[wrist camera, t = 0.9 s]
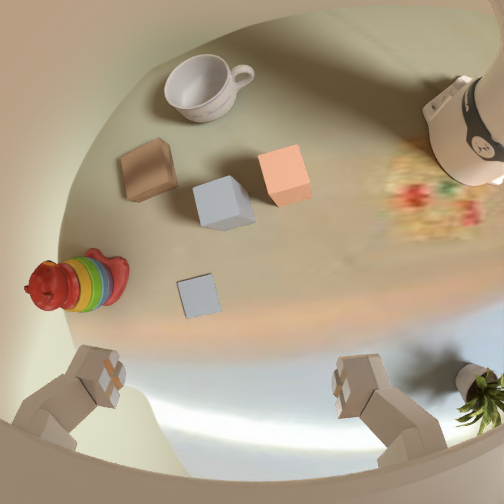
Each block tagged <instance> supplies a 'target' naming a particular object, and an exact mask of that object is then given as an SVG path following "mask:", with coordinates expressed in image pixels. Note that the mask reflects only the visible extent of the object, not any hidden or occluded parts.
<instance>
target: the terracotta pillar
mask: <svg viewBox="0 0 504 504" xmlns="http://www.w3.org/2000/svg"><path fill="white" fill-rule="evenodd" d="M258 159H259V162H260V166H261V169H262V173H263V176H264V180H265V183H266V187H267V190H268V194H269V196H270V197H271V198H272V199H273V201H274V202H275V203H276V205H277V206H278V207H280V206H284V205H287V204H291V203H295V202H298V201H302V200H305V199H309V198H311V191H310V181H309V177H308V174H307V171H306V168H305V165H304V161H303V158H302V155H301V152H300V149H299V146H298V144H297V145H293V146H290V147H286V148H282V149H279V150H275V151H272V152H269V153H265V154H262V155H259V156H258Z"/></svg>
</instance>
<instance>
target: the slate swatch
mask: <svg viewBox="0 0 504 504" xmlns="http://www.w3.org/2000/svg"><path fill="white" fill-rule="evenodd" d="M178 287H179V291H180V295H181V299H182V302H183V306H184V310H185V314H186V317H187V318H193V317H198V316H203V315H207V314H212V313H217V312H221V311H222V310H221V307H220V303H219V299H218V295H217V292H216V288H215V284H214V280H213V276H212V274H210V275H206V276H202V277H198V278H194V279H190V280H186V281H182V282H178Z"/></svg>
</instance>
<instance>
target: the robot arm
mask: <svg viewBox="0 0 504 504" xmlns="http://www.w3.org/2000/svg"><path fill="white" fill-rule="evenodd" d="M489 2H490V3H491V5H492V8H493V10H494V12H495V15H496V17H497V21H498V25H499V29H500V49H499V52H498V55H497V57H496V59H495V60H494V62H493V64H492V65H491V67H490V68H489V69H488V71H487V72H486V73H485V75H484V76H483V77H482V76H476V77H474V78H473V79H472V78H469V77H467V76H462V77H459V78H458V79H457V80H456V81H455V82H454V83H453V84H451V85H450V86H449V87H448V88H446V89H445V90H444V91H443V92H441V93H440V94H439V95H438V96H436V97H435V98H434V99H433V100H431V101H430V102H429V103H428V104H426V105H425V106H424V107H423V109H422V111H423V115H424V117H425V119H426V121H427V123H428V127H429V137H430V143H431V146H432V149H433V152H434V154H435V156H436V158H437V160H438V162H439V163H440V165H441V166H442V167H443V169H444V170H445V171H446V172H447V173H448V174H449V175H450V176H451V177H453V178H454V179H455V180H457V181H459V182H460V183H463V184H465V185H469V186H478V185H482V184H486V183H488V184H491V185H496V186H498V185H500V184H501V183H502V182H503V178H504V0H489ZM432 107H433V108H434V109H435V110H434V109H432ZM118 359H119V355H118V353H117V351H115V350H109V349H103V348H98V347H92V346H87V345H82V346H80V347H79V349H78V351H77V352H76V354H75V356H74V358H73V360H72V362H71V364H70V366H69V368H68V370H67V372H66V374H65V375H64V374H61V375H60V376H59V377H57V378H56V379H54V380H53V381H51V382H50V383H48V384H47V385H45V386H44V387H42V388H41V389H39V390H38V391H36V392H35V393H33V394H32V395H30V396H29V397H28V398H26V399H25V400H23V402H22V404H21V406H20V408H19V410H18V412H17V414H16V416H15V418H14V420H13V422H12V424H10V423H8V422H6V421H4V420H2V419H0V504H504V423H503V424H501V425H499V426H497V427H495V428H493V429H491V430H489V431H487V432H485V433H483V434H480V435H478V436H476V437H474V438H471V439H469V440H467V441H464V442H462V443H459V444H457V445H454V446H452V447H449V448H448V447H447V444H446V441H445V439H444V436H443V433H442V430H441V428H440V425H439V422H438V420H437V419H436V418H434V417H433V416H432V415H431V414H429V413H428V412H427V411H425V410H424V409H423V408H422V407H420V406H419V405H418V404H416V403H415V402H414V401H413V400H411V399H410V398H409V397H408V396H406V395H405V394H404V393H402V392H401V391H400V390H399V389H397V388H396V387H392V386H391V383H390V381H389V378H388V375H387V373H386V370H385V367H384V365H383V362H382V360H381V357H380V355H379V354H369V355H356V356H346V357H339V358H338V360H337V363H336V364H337V369H336V370H335V371H334V373H333V376H332V390H333V395H334V396H336V397H337V398H338V399H337V401H336V404H335V406H336V410H337V415H338V419H341V418H351V417H360V419H361V420H362V421H363V422H364V423H365V424H366V425H367V426H368V427H369V429H370V430H371V431H372V432H373V433H374V434H375V435H376V436H377V437H378V438H379V439H380V440H381V441H382V443H383V444H384V445H385V446H386V447H387V449H386V450H385V451H384V452H383V453H382V454H381V456H380V457H379V458H378V459H377V461H378V466H379V468H377V469H373V470H368V471H362V472H357V473H351V474H345V475H339V476H331V477H323V478H314V479H303V480H288V481H226V480H211V479H200V478H191V477H190V478H189V477H183V476H175V475H169V474H163V473H157V472H151V471H146V470H141V469H137V468H132V467H128V466H124V465H119V464H116V463H112V462H108V461H104V460H101V459H97V458H94V457H90V456H88V455H84V454H81V453H79V452H76V451H75V449H76V446H77V442H76V440H75V439H74V438H73V437H72V436H71V435H70V434H69V433H70V432H71V431H72V430H73V429H74V428H75V427H76V426H77V425H78V424H79V423H80V422H81V421H82V420H83V419H85V418H86V417H87V416H88V415H89V414H90V413H91V412H92V411H93V410H94V409H95V408H96V407H97V405H98V406H103V407H108V408H114V409H115V408H116V406H117V403H118V400H119V397H120V394H119V392H118V390H119V389H120V388H122V387H123V385H124V382H125V376H126V373H125V368H124V366H123V364H122V363H121V362H120V361H118Z"/></svg>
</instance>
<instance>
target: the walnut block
mask: <svg viewBox="0 0 504 504" xmlns="http://www.w3.org/2000/svg"><path fill="white" fill-rule="evenodd" d="M120 158H121V164H122V171H123V177H124V183H125V189H126V195H127V200H131V201H135V202H138V203H140V202H142V201H144V200H147V199H149V198H151V197H154V196H156V195H158V194H161V193H163V192H166V191H168V190H171V189H173V188H175V187H178V182H177V178H176V173H175V169H174V164H173V160H172V155H171V150H170V146H169V144H168V143H166V142H165V141H163V140H162V139H160V138H158V139H156V140H154V141H151V142H149V143H147V144H145V145H143V146H141V147H139V148H137V149H135V150H133V151H131V152H129V153H127V154H126V155H124V156H122V157H120Z"/></svg>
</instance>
